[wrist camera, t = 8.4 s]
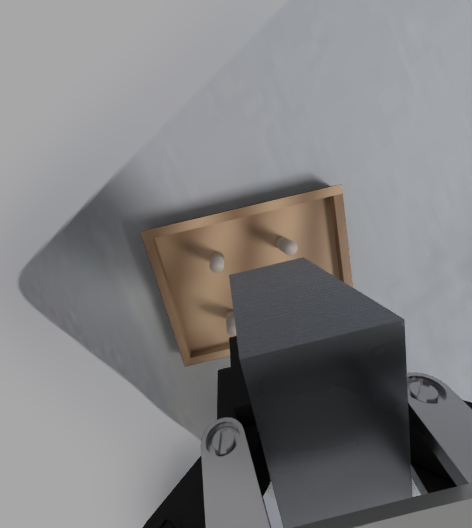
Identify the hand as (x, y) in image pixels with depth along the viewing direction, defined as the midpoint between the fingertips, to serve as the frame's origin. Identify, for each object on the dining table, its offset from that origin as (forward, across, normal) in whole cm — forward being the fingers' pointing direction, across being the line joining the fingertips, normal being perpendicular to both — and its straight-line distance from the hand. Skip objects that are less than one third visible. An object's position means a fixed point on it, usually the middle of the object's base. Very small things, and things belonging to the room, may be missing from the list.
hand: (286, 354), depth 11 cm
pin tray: (+13, 0, 0) cm, 13 cm away
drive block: (+1, 0, 0) cm, 1 cm away
